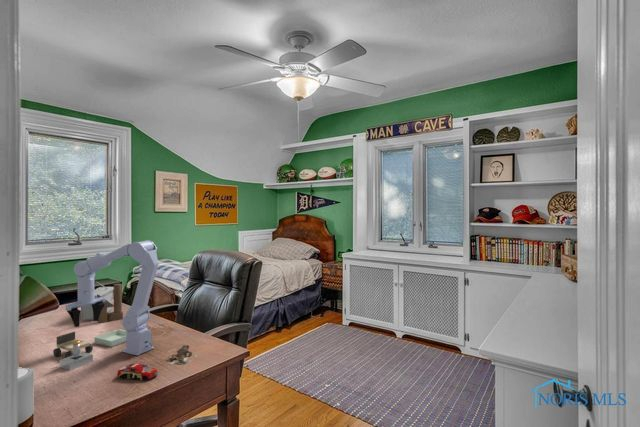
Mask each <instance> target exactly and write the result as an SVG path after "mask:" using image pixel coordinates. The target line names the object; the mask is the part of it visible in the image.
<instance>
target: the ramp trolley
mask: <svg viewBox="0 0 640 427" xmlns="http://www.w3.org/2000/svg"><path fill="white" fill-rule="evenodd" d="M74 341H80V350H81V349H83V348H84V350H85V351H84V352H85V353H90V352H92V351H93V350H94V348H93V345H92V343H90V342H88V341H83V340H79V339H77V338H76V331H71V332H68V333H65V334H62V335H59V336H56V348H54V349H53V352H52V353H53V356H54V357H56V358H57V357H60V356H61V355H62V350H66V352H64V358H67V357H70V356H73V342H74ZM61 349H62V350H61Z"/></svg>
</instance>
